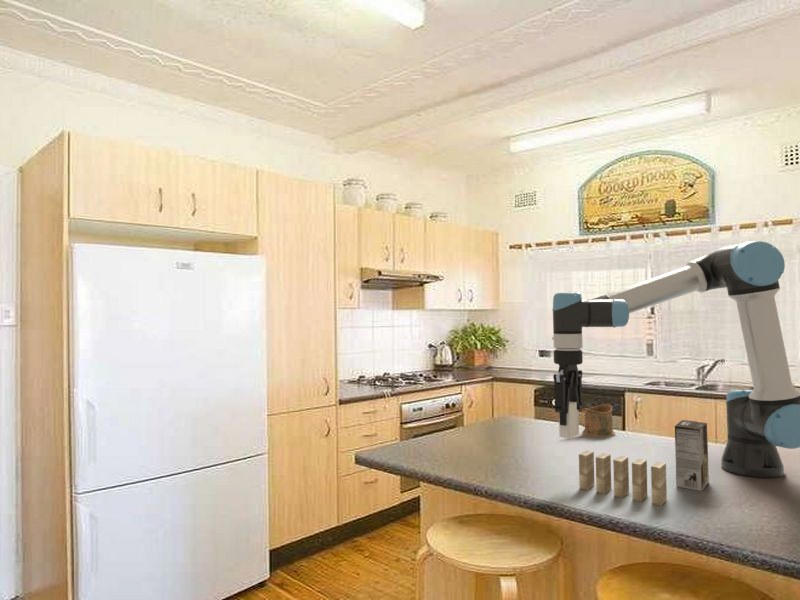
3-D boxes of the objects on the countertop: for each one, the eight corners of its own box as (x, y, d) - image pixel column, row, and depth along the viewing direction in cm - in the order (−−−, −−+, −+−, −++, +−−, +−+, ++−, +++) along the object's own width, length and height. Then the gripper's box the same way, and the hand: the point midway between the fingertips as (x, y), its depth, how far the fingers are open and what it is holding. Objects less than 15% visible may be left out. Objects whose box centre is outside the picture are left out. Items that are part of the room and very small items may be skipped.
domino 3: (611, 488, 143) (610, 454, 143) (604, 493, 139) (603, 458, 140) (603, 487, 144) (602, 453, 145) (596, 492, 141) (595, 457, 141)
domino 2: (594, 485, 146) (593, 451, 146) (587, 490, 142) (586, 455, 142) (587, 483, 147) (586, 450, 148) (579, 488, 144) (578, 454, 144)
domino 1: (577, 435, 149) (576, 402, 149) (569, 438, 145) (568, 404, 146) (570, 434, 150) (569, 401, 151) (562, 437, 147) (561, 404, 147)
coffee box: (683, 478, 151) (681, 419, 151) (709, 482, 147) (708, 422, 147) (675, 486, 144) (673, 425, 144) (702, 491, 140) (700, 428, 140)
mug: (562, 433, 207) (561, 401, 207) (601, 429, 212) (601, 398, 212) (581, 440, 196) (580, 406, 196) (622, 435, 201) (621, 403, 201)
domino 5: (647, 496, 137) (646, 460, 137) (641, 501, 133) (640, 464, 134) (639, 494, 139) (638, 458, 139) (632, 499, 135) (631, 463, 135)
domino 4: (629, 492, 140) (628, 457, 140) (622, 497, 136) (621, 461, 137) (621, 490, 142) (620, 455, 142) (614, 495, 138) (613, 460, 138)
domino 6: (666, 499, 134) (665, 463, 134) (660, 505, 131) (659, 467, 131) (658, 498, 136) (657, 461, 136) (651, 503, 132) (651, 466, 132)
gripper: (568, 346, 158) (570, 427, 157) (539, 350, 144) (541, 439, 144) (594, 347, 153) (595, 431, 152) (567, 352, 139) (568, 443, 139)
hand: (569, 435), depth 148 cm, fingers closed on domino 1, 5 cm apart
